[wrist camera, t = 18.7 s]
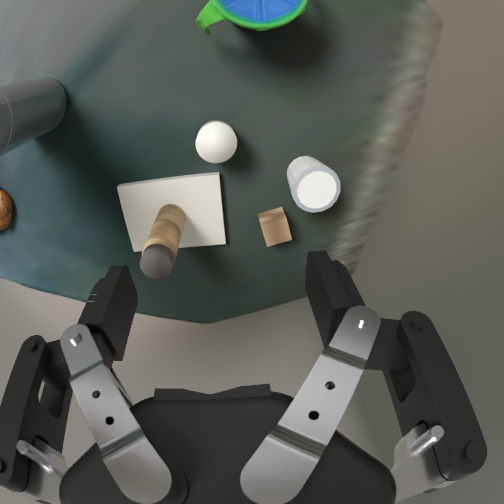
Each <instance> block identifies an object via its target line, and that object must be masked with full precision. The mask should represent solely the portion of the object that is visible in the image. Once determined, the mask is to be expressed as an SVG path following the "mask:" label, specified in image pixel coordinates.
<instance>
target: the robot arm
mask: <svg viewBox="0 0 504 504" xmlns="http://www.w3.org/2000/svg"><path fill="white" fill-rule="evenodd" d="M66 106H67V97H66V92H65V90H64V88H63V86H62V85H61V83H59V82H58V81H57V80H55V79H52V78H44V79H37V80H30V81H24V82H19V83H14V84H9V85H4V86H0V156H2V155H4V154H6V153H7V152H9V151H11V150H13V149H15V148H17V147H19V146H20V145H22V144H24V143H26V142H28V141H30V140H32V139H34V138H36V137H39V136H41V135H43V134H45V133H47V132H49V131H51V130H53V129H55V128H56V127H57V126H58V125H59V124H60V122H61V121H62V119H63V117H64V115H65V111H66ZM305 286H306V292H307V295H308V298H309V301H310V304H311V307H312V310H313V314H314V317H315V320H316V323H317V326H318V329H319V332H320V336H321V339H322V342H323V345H324V348H325V349H324V350H323V351H322V353H321V355H320V356H319V358H318V360H317V362H316V363H315V365H314V367H313V369H312V370H311V372H310V374H309V375H308V377H307V379H306V380H305V382H304V384H303V385H302V387H301V389H300V390H299V392H298V393H297V395H296V397H295V398H293V397H291V396H289V395H286V394H283V393H278V392H272V391H270V384H262V385H251V386H240V387H237V388H233V389H230V390H226V391H223V392H219V393H215V394H204V393H199V392H195V391H190V390H185V389H157V388H156V389H155V393H154V397H150V398H147V399H144V400H142V401H140V402H138V403H137V404H134V403H133V401H132V400H131V398H130V397H129V395H128V393H127V392H126V390H125V388H124V387H123V385H122V383H121V382H120V380H119V378H118V376H117V375H116V373H115V371H114V369H113V368H112V363H113V361H122V360H123V355H124V351H125V348H126V344H127V340H128V336H129V332H130V328H131V325H132V321H133V317H134V314H135V310H136V307H137V302H138V298H137V292H136V289H135V286H134V283H133V280H132V277H131V275H130V272H129V269H128V267H127V266H126V265H125V266H112V267H110V268H109V270H108V272H107V274H106V276H105V278H101V279H100V280H99V281H98V282H97V283H96V284H95V285H94V287H93V289H92V292H91V295H90V296H89V298H88V300H87V301H88V302H87V303H86V305H85V307H84V309H83V312H82V314H81V316H80V319H79V321H78V323H77V324H76V325H73V326H71V327H69V328H68V329H67V330H65V331H64V333H63V334H62V336H61V339H60V340H56V341H52V342H48V343H46V341H45V340H44V338H43V337H42V336H39V335H34V336H31V337H30V338H28V339H27V340H25V342H24V343H23V345H22V346H21V349H20V351H19V353H18V356H17V359H16V361H15V364H14V367H13V369H12V372H11V375H10V378H9V381H8V383H7V387H6V390H5V393H4V396H3V399H2V403H1V406H0V485H1V486H3V487H6V488H7V489H9V490H11V491H12V492H14V493H16V494H19V495H21V496H23V497H25V498H28V499H31V500H34V501H37V502H40V503H43V504H395V502H396V501H399V500H402V499H405V498H407V497H410V496H413V495H416V494H418V493H421V492H423V493H432V492H434V491H437V490H439V489H441V488H443V487H446V486H448V485H450V484H452V483H454V482H456V481H458V480H460V479H463V478H464V477H466V476H468V475H470V474H472V473H474V472H476V471H477V470H479V469H480V468H481V467H482V466H483V464H484V462H485V460H486V457H487V447H486V443H485V440H484V437H483V435H482V432H481V429H480V426H479V424H478V421H477V418H476V416H475V413H474V410H473V408H472V405H471V403H470V400H469V398H468V396H467V393H466V391H465V389H464V386H463V384H462V382H461V380H460V378H459V375H458V373H457V371H456V369H455V367H454V365H453V363H452V360H451V358H450V356H449V354H448V352H447V350H446V348H445V346H444V344H443V342H442V340H441V338H440V336H439V334H438V332H437V331H436V329H435V327H434V325H433V323H432V321H431V320H430V319H429V317H427V316H426V315H425V314H423V313H421V312H418V311H409V312H407V313H405V314H404V315H403V316H402V318H401V320H392V319H383V318H380V316H379V314H378V313H377V312H376V311H375V310H373V309H371V308H370V307H367V306H365V303H364V301H363V299H362V297H361V295H360V293H359V292H358V290H357V288H356V286H355V284H354V283H353V280H352V278H351V277H350V274H349V272H348V270H347V269H346V267H345V266H344V265H343V264H341V263H340V262H339V261H338V260H336V261H331V260H330V258H329V256H328V254H327V252H326V251H325V250H320V251H309V252H308V255H307V266H306V277H305ZM364 369H372V370H382V371H383V374H384V376H385V379H386V383H387V386H388V389H389V392H390V395H391V398H392V401H393V405H394V408H395V411H396V415H397V418H398V421H399V425H400V429H401V432H402V436H403V438H402V439H401V440H400V441H399V442H398V444H397V445H396V447H395V452H394V455H395V462H394V466H393V468H392V470H391V471H390V470H389V469H388V468H387V467H386V466H385V465H384V464H382V463H381V462H380V461H378V460H377V459H375V458H374V457H373V456H371V455H370V454H368V453H367V452H366V451H364V450H363V449H361V448H360V447H359V446H357V445H356V444H355V443H353V442H352V441H350V440H349V439H348V438H346V437H345V436H344V435H342V434H341V433H340V432H338V431H337V430H336V428H337V426H338V424H339V422H340V420H341V418H342V416H343V413H344V412H345V410H346V408H347V405H348V403H349V401H350V399H351V397H352V395H353V393H354V390H355V388H356V386H357V384H358V381H359V379H360V377H361V374H362V372H363V370H364ZM42 381H43V382H44V383H45V385H44V388H43V392H42V396H41V399H40V402H39V399H38V393H39V390H40V386H41V382H42ZM73 392H74V394H75V397H76V399H77V402H78V404H79V406H80V409H81V411H82V413H83V415H84V418H85V420H86V422H87V424H88V426H89V428H90V430H91V432H92V434H93V436H94V438H95V440H96V443H95V444H94V445H93V446H92V447H91V448H90V449H89V450H88V451H87V452H86V453H85V454H84V455H83V456H81V458H79V459H78V460H77V462H76V463H74V464H73V466H72V467H70V468H69V469H68V467H67V466H66V461H65V459H64V457H63V456H62V448H63V441H64V435H65V429H66V423H67V418H68V412H69V407H70V402H71V398H72V393H73Z"/></svg>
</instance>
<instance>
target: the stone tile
mask: <svg viewBox="0 0 504 504" xmlns="http://www.w3.org/2000/svg"><path fill="white" fill-rule="evenodd" d="M117 190H118V194H119V198H120V202H121V206H122V210H123V214H124V218H125V222H126V226H127V229H128V233H129V236H130V240H131V243H132V247H133V250H134V252H137V251H143V248H144V246H145V243H146V241H147V238H148V236H149V233H150V231H151V229H152V226H153V224H154V222H155V219H156V217H157V215H158V212H159V210H160V209H161V208H162V207H163V206H164V205H167V204H175V205H177V206H179V207H181V208H182V209H183V211H184V213H185V222H184V226H183V230H182V234H181V238H180V243H179V247H178V248H183V247H195V246H208V245H220V244H226V238H225V228H224V218H223V208H222V198H221V187H220V176H219V172H214V173H203V174H194V175H184V176H176V177H167V178H159V179H152V180H145V181H138V182H131V183H124V184H119V185H118V186H117Z"/></svg>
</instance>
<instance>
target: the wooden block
mask: <svg viewBox="0 0 504 504" xmlns="http://www.w3.org/2000/svg"><path fill="white" fill-rule="evenodd" d="M258 215H259V220H260V225H261V228H262V231H263V235H264V238H265V241H266V244H267V247H268V246H272V245H275V244H279V243H282V242H286V241H290V240H292V238H291V234H290V230H289V226H288V222H287V218H286V216H285V213H284V210H283V208H282V207H280V208H276V209H273V210H269V211H266V212H262V213H259V214H258Z"/></svg>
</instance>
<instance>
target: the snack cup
mask: <svg viewBox="0 0 504 504" xmlns="http://www.w3.org/2000/svg"><path fill="white" fill-rule="evenodd" d="M307 2H308V0H210V1H209V3H208V4H207V5H206V6H205V7H204V8H203V9H202V11H201V12H200V14H199V15H198V17H197V19H196V23H197V24H198V25H199V26H200V28H201V29H202V30H203V31H204V33H205V34H207V35H210V31H209V29H208V28H207V27H209V26H211V25H212V24H214V23H216V22H219V21H222V20H228V21H230V22H232V23H234V24H236V25H238V26H240V27H243V28H247V29H254V30H256V31H265V30H268V29H273V28H277V27H280V26H283V25H286V24H288V23H290V22H291V21H292V20H294V19H295V18H296V17H297V16H298V15H301V14H302V13H303V12H304V11H305V9H306V4H307Z"/></svg>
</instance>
